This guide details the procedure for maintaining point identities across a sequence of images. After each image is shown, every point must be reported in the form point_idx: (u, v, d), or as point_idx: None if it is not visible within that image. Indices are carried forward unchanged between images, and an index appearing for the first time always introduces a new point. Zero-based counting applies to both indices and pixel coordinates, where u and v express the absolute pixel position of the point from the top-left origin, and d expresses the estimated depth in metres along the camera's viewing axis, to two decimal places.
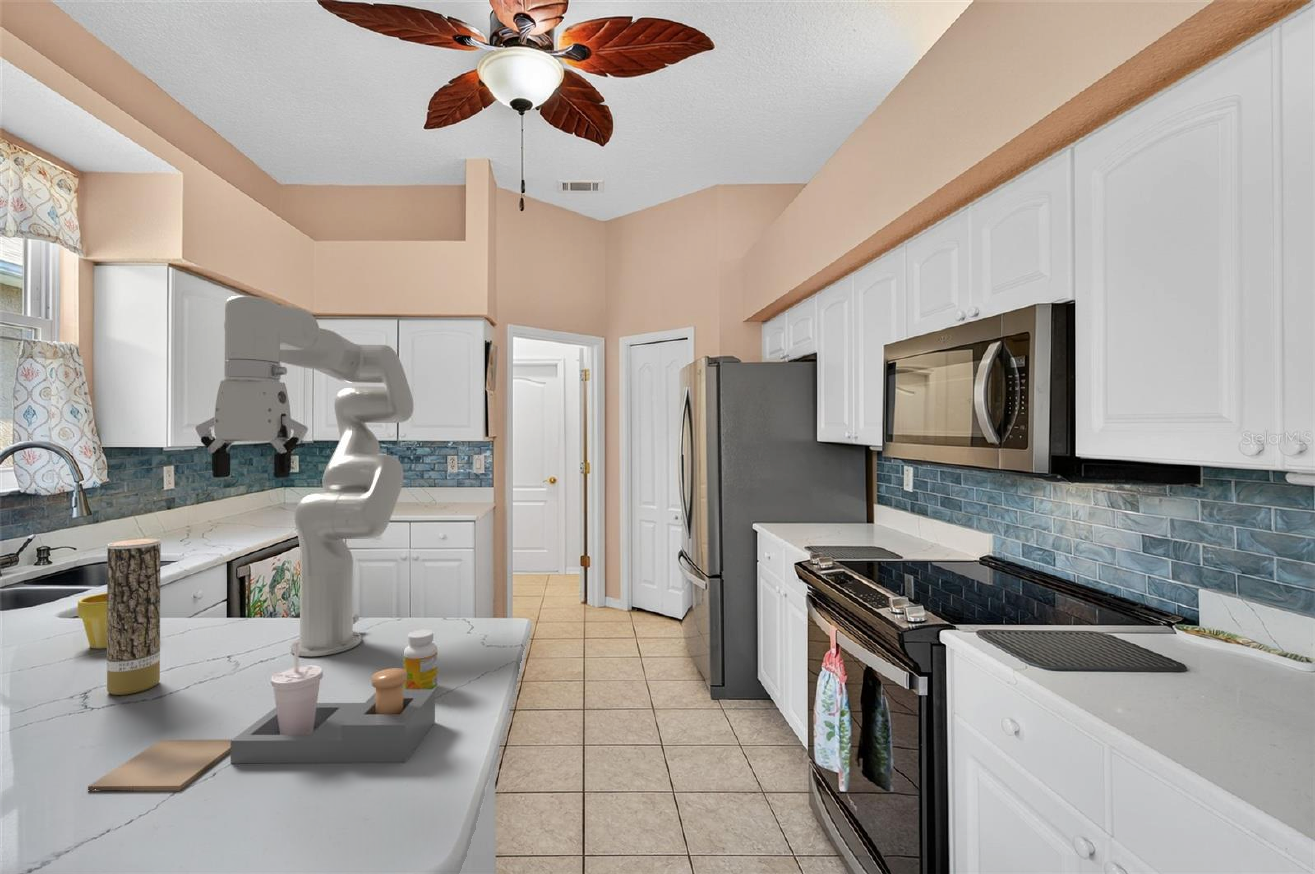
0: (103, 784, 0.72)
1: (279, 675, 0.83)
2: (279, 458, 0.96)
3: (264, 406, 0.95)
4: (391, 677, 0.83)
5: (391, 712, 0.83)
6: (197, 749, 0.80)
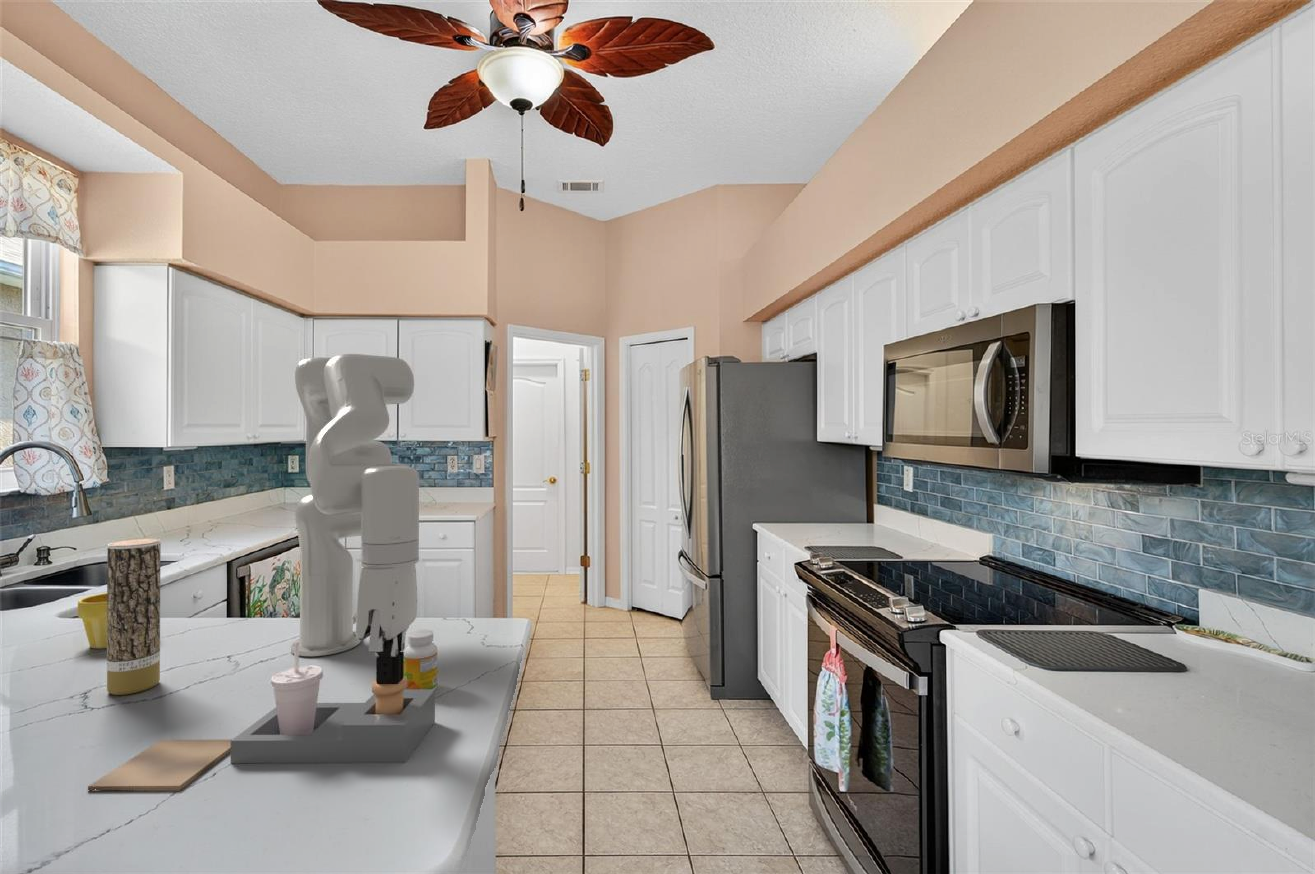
0: (103, 784, 0.72)
1: (279, 675, 0.83)
2: None
3: (415, 586, 0.87)
4: (391, 684, 0.83)
5: None
6: (197, 749, 0.80)
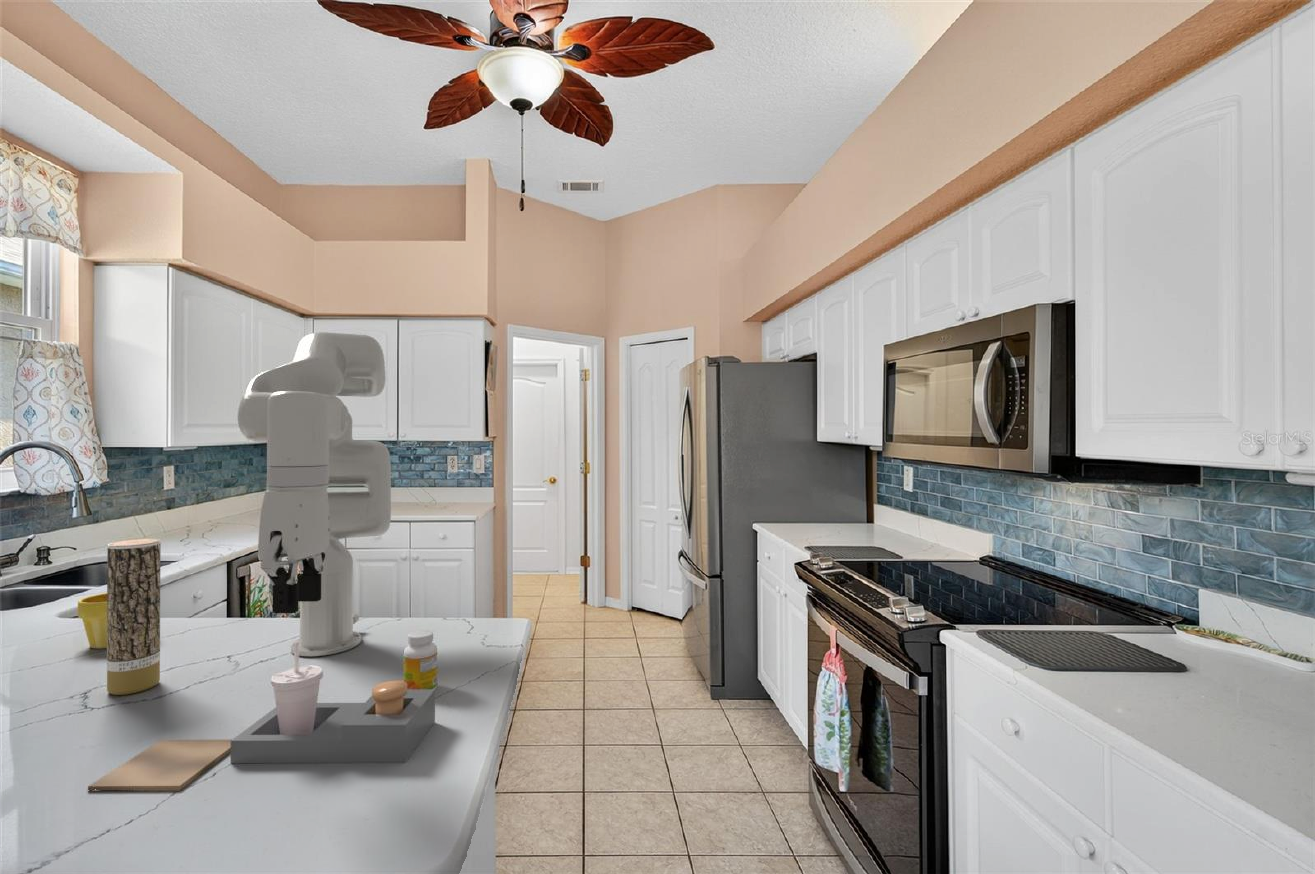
0: (103, 784, 0.72)
1: (279, 675, 0.83)
2: None
3: (326, 514, 0.87)
4: (391, 690, 0.83)
5: None
6: (197, 749, 0.80)
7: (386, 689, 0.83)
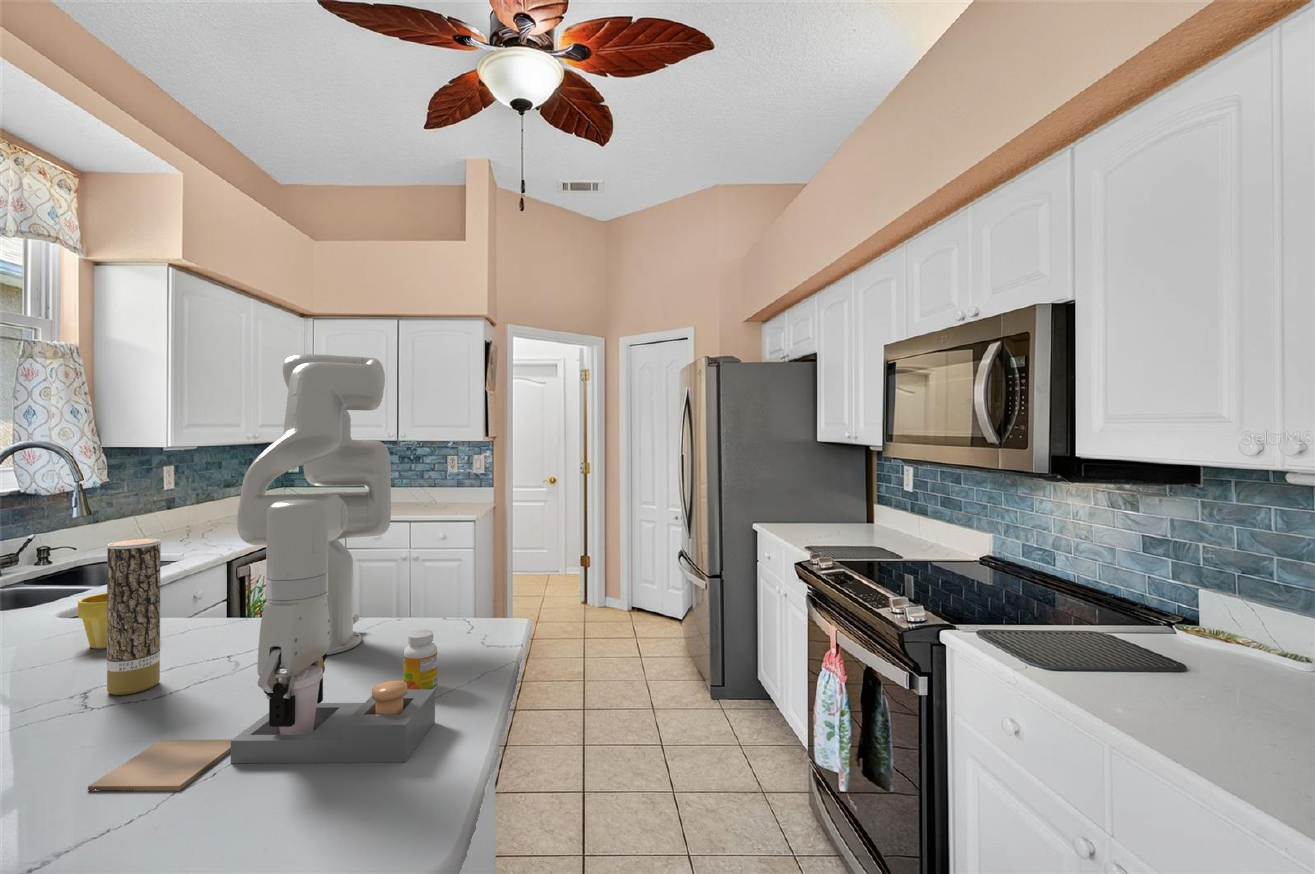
0: (103, 784, 0.72)
1: None
2: None
3: (326, 618, 0.87)
4: (391, 690, 0.83)
5: None
6: (197, 749, 0.80)
7: (386, 689, 0.83)
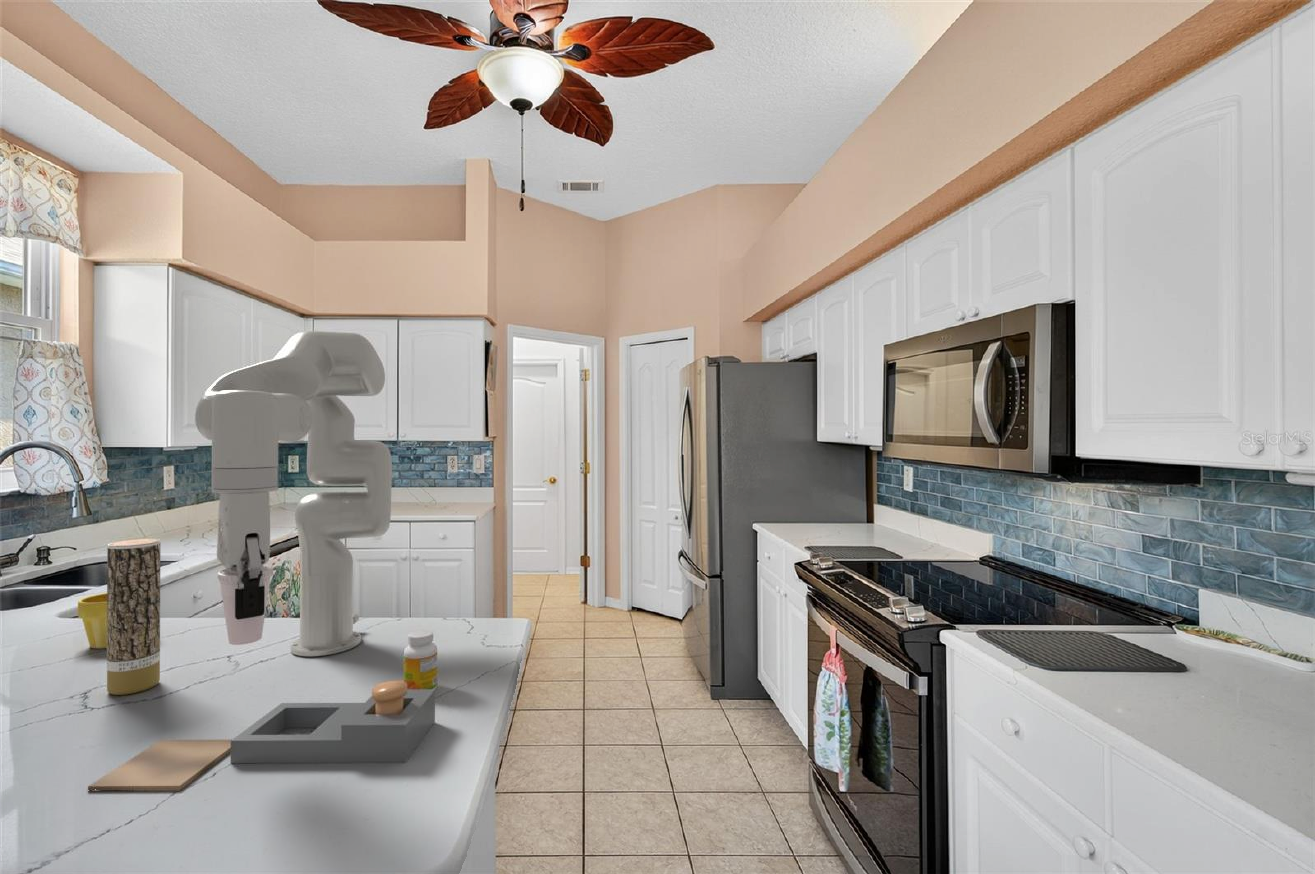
0: (103, 784, 0.72)
1: (226, 573, 0.79)
2: None
3: None
4: (391, 690, 0.83)
5: None
6: (197, 749, 0.80)
7: (386, 689, 0.83)
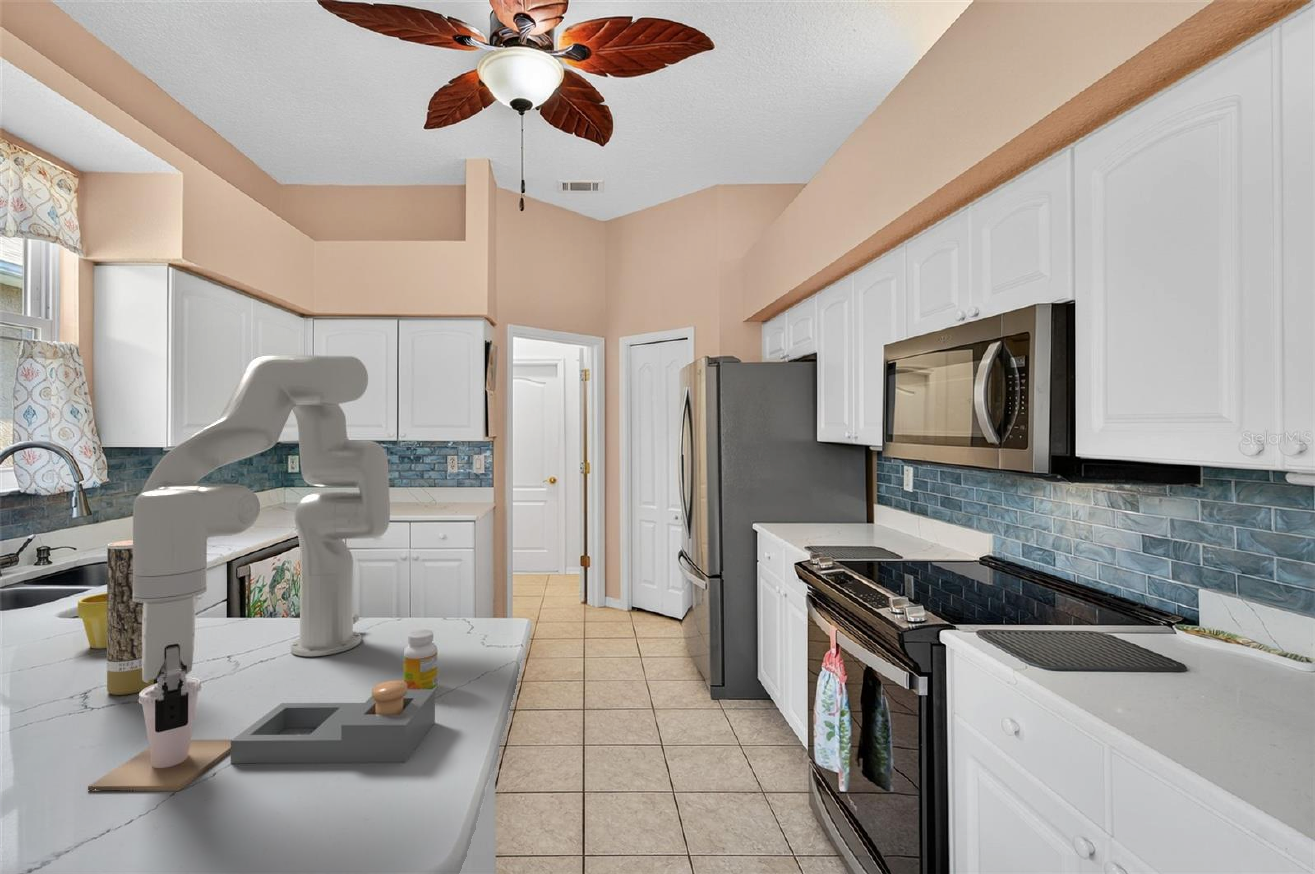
0: (103, 784, 0.72)
1: (148, 693, 0.76)
2: None
3: None
4: (391, 690, 0.83)
5: None
6: (197, 749, 0.80)
7: (386, 689, 0.83)
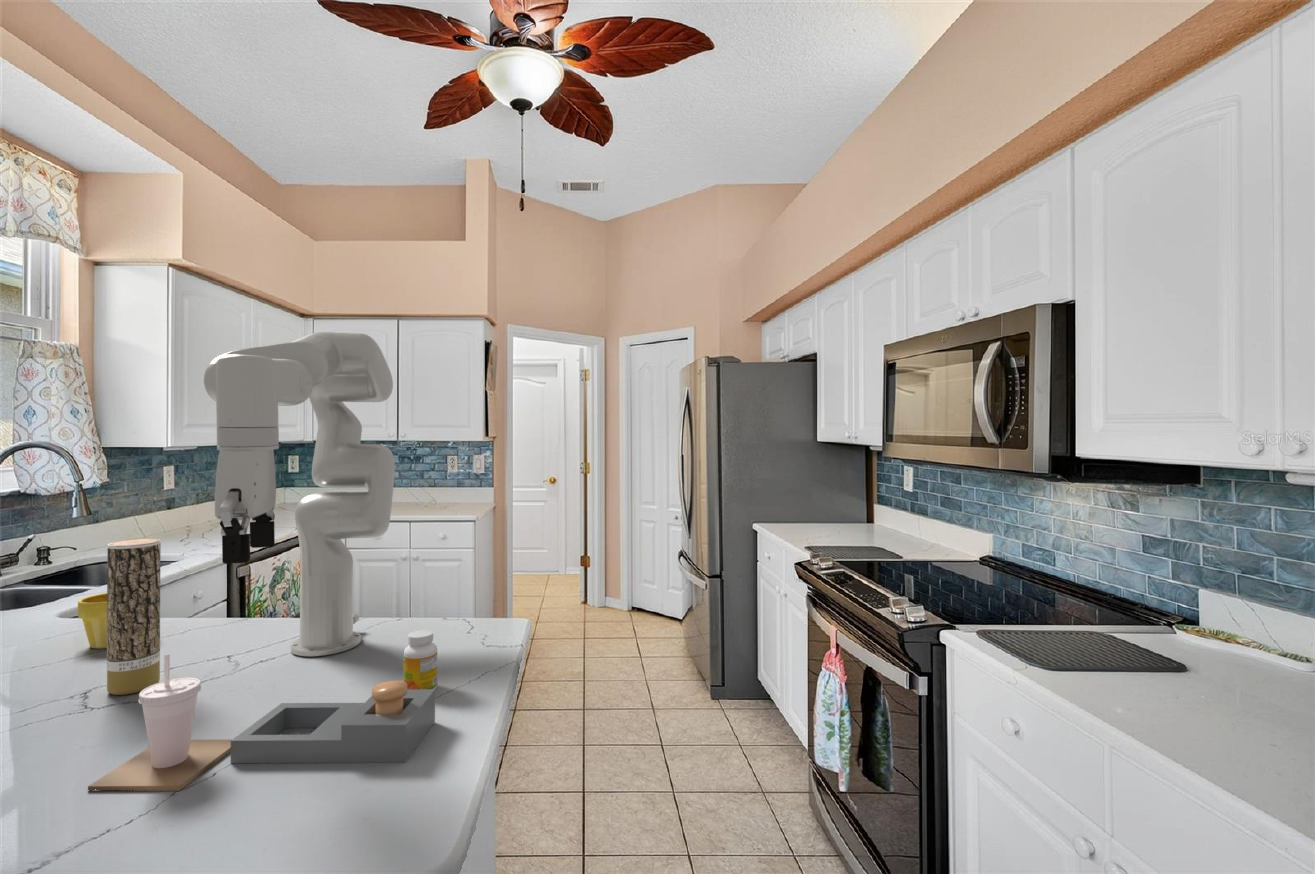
0: (103, 784, 0.72)
1: (148, 693, 0.76)
2: None
3: (274, 474, 0.91)
4: (391, 690, 0.83)
5: None
6: (197, 749, 0.80)
7: (386, 689, 0.83)
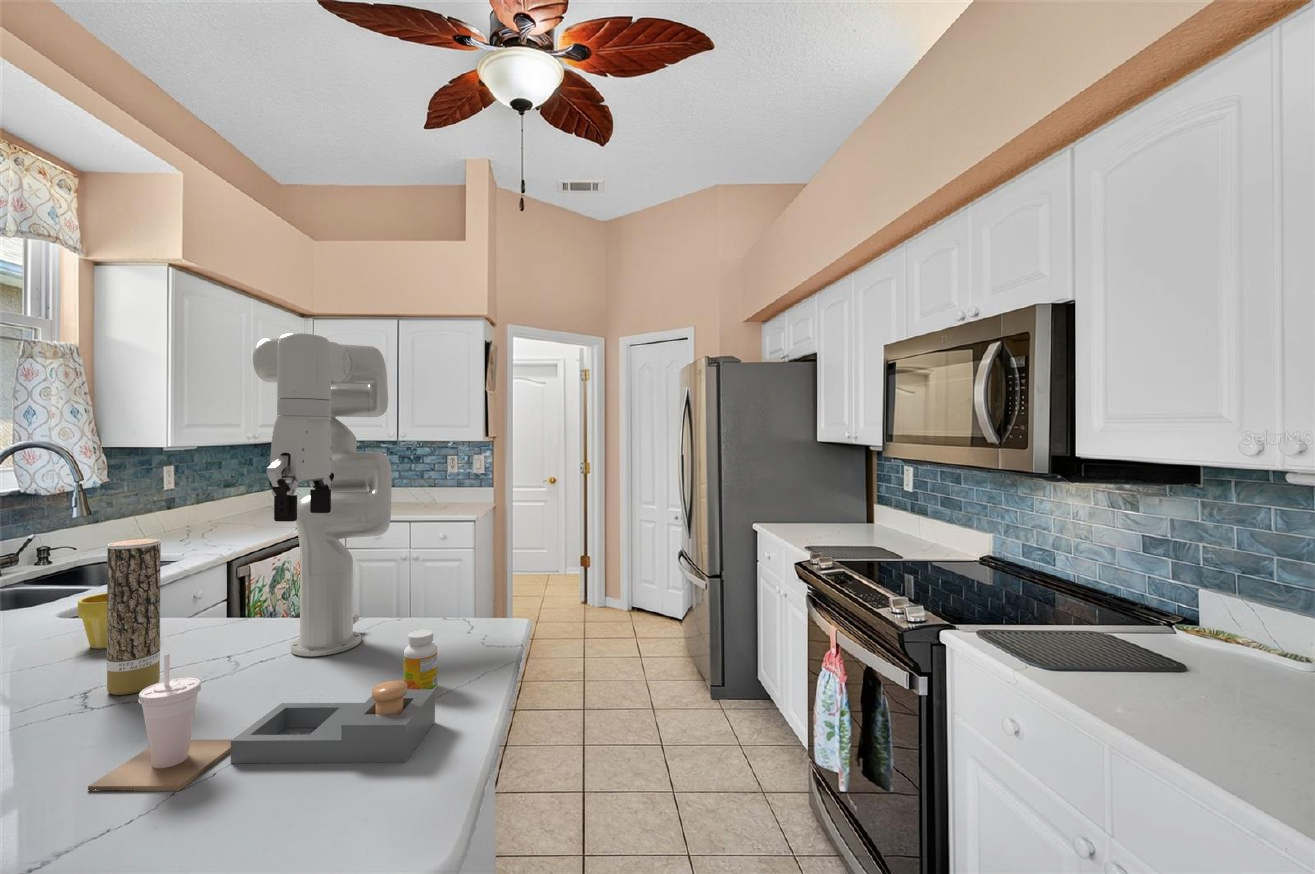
0: (103, 784, 0.72)
1: (148, 693, 0.76)
2: None
3: (329, 445, 0.99)
4: (391, 690, 0.83)
5: None
6: (197, 749, 0.80)
7: (386, 689, 0.83)
